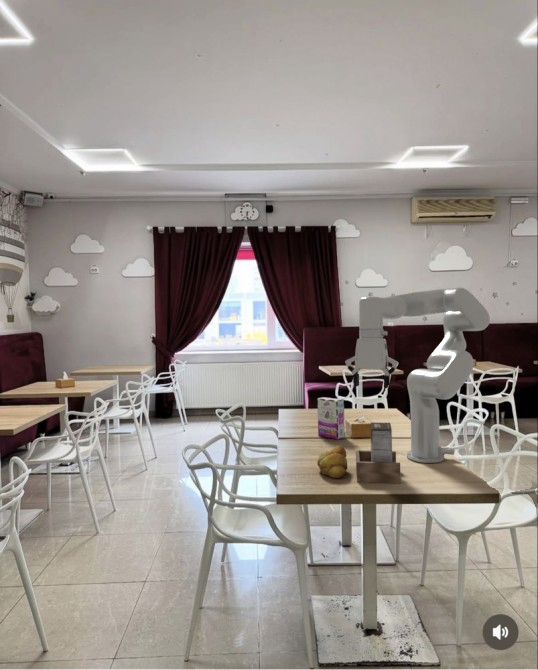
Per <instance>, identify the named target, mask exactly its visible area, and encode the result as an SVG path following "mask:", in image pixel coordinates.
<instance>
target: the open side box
mask: <svg viewBox="0 0 538 670" xmlns="http://www.w3.org/2000/svg"><path fill="white" fill-rule="evenodd" d="M355 470H356V473H355V474H356V482H357V483H378V484H379V483H382V484H401V462H397V451H396V450H392V462H371V450H362V449H360V450H358V449H356V450H355Z"/></svg>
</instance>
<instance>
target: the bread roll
mask: <svg viewBox="0 0 538 670" xmlns="http://www.w3.org/2000/svg"><path fill="white" fill-rule="evenodd" d="M316 462H317V467H318V468H319V470H320V472H321V474H322V475H326V476H328V477H331V478H334V479H335V478H336V479H339V478H343V477H344V476H345V474H346V472H347V471H348V460H347V450H346V448H345V447H344V446H342V445H336V446H334V447H332V448H331V449H330V450H329V451H325V452H322V453H321V454H319V457H318V459H317V461H316Z"/></svg>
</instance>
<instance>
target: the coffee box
mask: <svg viewBox="0 0 538 670" xmlns="http://www.w3.org/2000/svg"><path fill="white" fill-rule="evenodd" d="M392 432H393V430H392V425H391V422H370V451H371V462H392V451H393V433H392Z"/></svg>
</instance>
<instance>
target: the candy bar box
mask: <svg viewBox="0 0 538 670" xmlns="http://www.w3.org/2000/svg"><path fill="white" fill-rule="evenodd" d="M317 422H318V423H317V430H318V431H317V435H318V436H319V435H320V436H319V437H323V436H324V438H327V437H328V439H334V440H338V439H339V440H341V439H344V438H345V437H346V435H345V434H346V433H345V432H346V431H345V399H344V398H343V399H341V398H332V397H326V396H324V397H323V396H322V397H318V398H317Z"/></svg>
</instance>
